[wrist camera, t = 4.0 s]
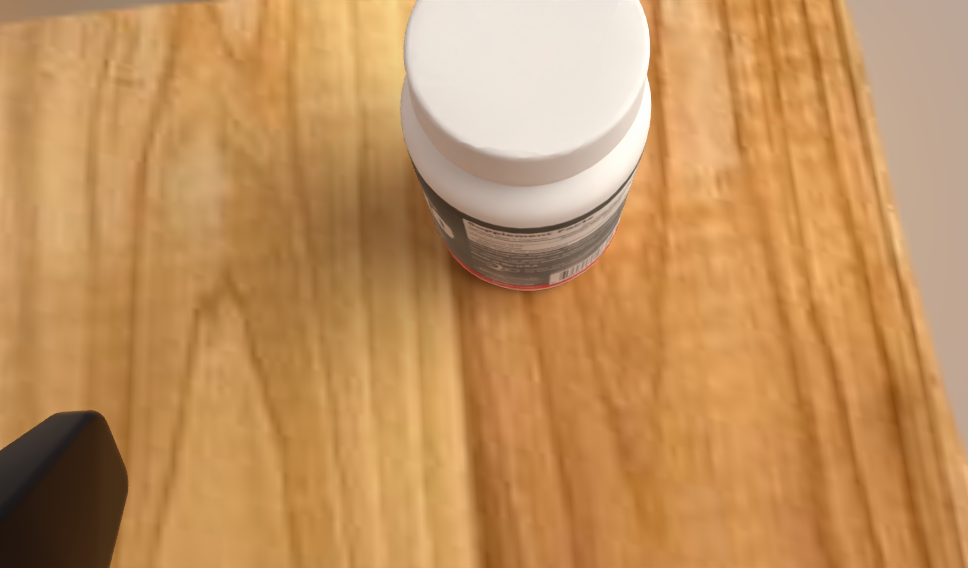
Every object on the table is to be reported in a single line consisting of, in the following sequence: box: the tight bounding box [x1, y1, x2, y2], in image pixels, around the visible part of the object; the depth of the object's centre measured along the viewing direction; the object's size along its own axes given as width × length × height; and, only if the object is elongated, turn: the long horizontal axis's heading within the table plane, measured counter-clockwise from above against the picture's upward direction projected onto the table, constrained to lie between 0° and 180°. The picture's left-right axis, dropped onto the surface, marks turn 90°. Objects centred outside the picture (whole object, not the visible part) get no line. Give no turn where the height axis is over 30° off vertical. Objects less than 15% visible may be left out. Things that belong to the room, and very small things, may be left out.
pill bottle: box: [401, 0, 651, 291], centre depth 18 cm, size 5×5×8 cm
